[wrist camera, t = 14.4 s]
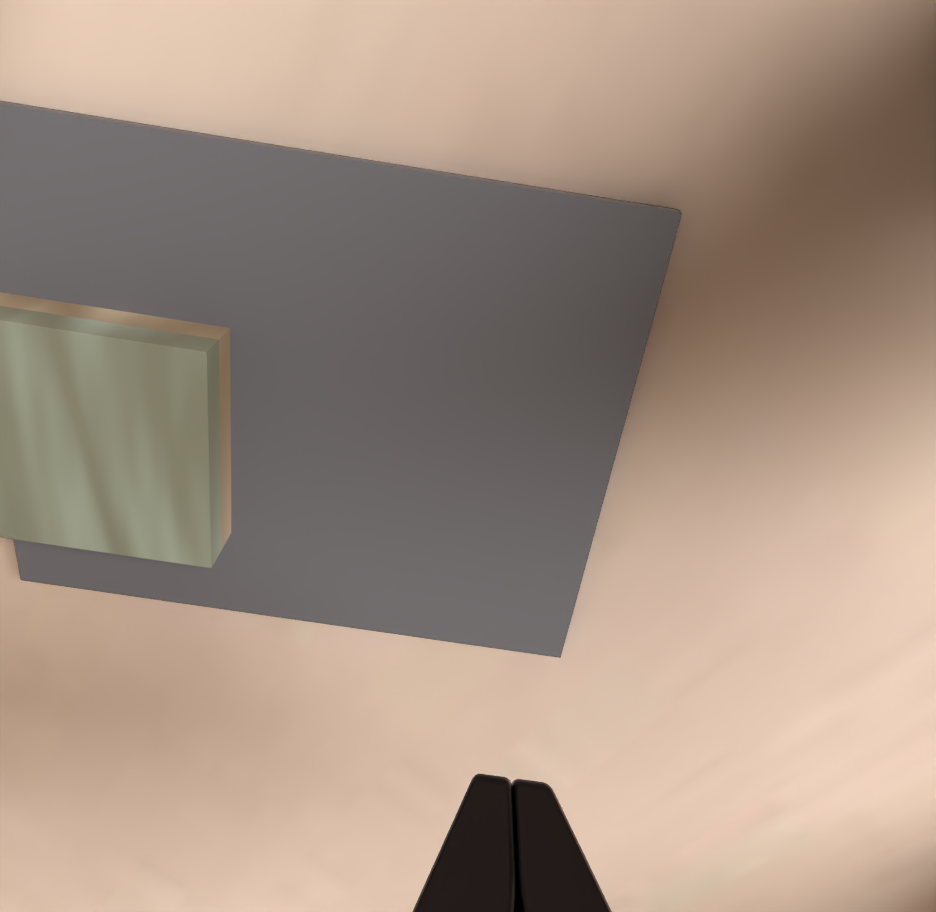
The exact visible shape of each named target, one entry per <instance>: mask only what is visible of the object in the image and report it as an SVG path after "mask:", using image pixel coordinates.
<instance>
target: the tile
mask: <svg viewBox="0 0 936 912" xmlns="http://www.w3.org/2000/svg"><path fill="white" fill-rule="evenodd" d="M230 534H231V401H230V328H227V327H221V326H214V325H208V324H202V323H195V322H189V321H182V320H176V319H169V318H163V317H157V316H150V315H144V314H137V313H131V312H124V311H118V310H112V309H105V308H99V307H92V306H86V305H79V304H73V303H66V302H60V301H54V300H47V299H41V298H34V297H28V296H21V295H15V294H9V293H2V292H0V537H3V538H9V539H16V540H23V541H30V542H37V543H43V544H50V545H57V546H64V547H71V548H78V549H84V550H91V551H98V552H105V553H112V554H118V555H125V556H132V557H139V558H146V559H152V560H159V561H166V562H173V563H180V564H187V565H193V566H200V567H207V568H212V566H213V564H214V563H215V561H216V559H217V557H218V556H219V554H220V552H221V550H222V549H223V547H224V545H225V543H226V541H227V540H228V538H229V536H230Z"/></svg>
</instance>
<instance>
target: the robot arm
mask: <svg viewBox="0 0 936 912" xmlns="http://www.w3.org/2000/svg"><path fill="white" fill-rule="evenodd" d="M413 912H612V911H611V909H610V907H609V905H608V903H607V901H606V899H605V897H604V895H603V893H602V891H601V888H600V886H599V884H598V882H597V880H596V878H595V876H594V874H593V872H592V870H591V868H590V866H589V864H588V862H587V859H586V857H585V855H584V853H583V851H582V849H581V847H580V845H579V843H578V841H577V839H576V837H575V835H574V833H573V830H572V828H571V826H570V824H569V822H568V820H567V818H566V816H565V814H564V812H563V810H562V808H561V806H560V803H559V801H558V799H557V797H556V795H555V793H554V791H553V790H552V788H551V787H550V786H549V785H548V784H546V783H543V782H536V781H529V780H522V779H516V780H514V781H513V782H512V784H511V782H510V780H509V779H508V778H506V777H500V776H493V775H486V774H477V775H475V776H474V777H473V779H472V781H471V783H470V785H469V787H468V789H467V792H466V794H465V796H464V798H463V801H462V803H461V805H460V807H459V809H458V812H457V814H456V816H455V818H454V821H453V823H452V825H451V827H450V829H449V832H448V834H447V836H446V838H445V841H444V843H443V845H442V847H441V850H440V852H439V854H438V856H437V858H436V861H435V863H434V865H433V867H432V870H431V872H430V874H429V876H428V878H427V881H426V883H425V885H424V887H423V890H422V892H421V894H420V896H419V898H418V901H417V903H416V905H415V907H414V910H413Z"/></svg>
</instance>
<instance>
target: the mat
mask: <svg viewBox="0 0 936 912" xmlns="http://www.w3.org/2000/svg"><path fill="white" fill-rule="evenodd" d="M681 215H682V213H681V212H680V211H679V210H678V209H672V208H666V207H660V206H653V205H647V204H641V203H635V202H628V201H622V200H616V199H610V198H603V197H597V196H591V195H585V194H578V193H572V192H566V191H560V190H553V189H547V188H541V187H535V186H528V185H522V184H516V183H510V182H504V181H497V180H491V179H485V178H479V177H472V176H466V175H460V174H454V173H447V172H441V171H435V170H429V169H422V168H416V167H410V166H404V165H397V164H391V163H385V162H379V161H373V160H366V159H360V158H354V157H348V156H341V155H335V154H329V153H323V152H316V151H310V150H304V149H298V148H291V147H285V146H279V145H273V144H266V143H260V142H254V141H248V140H241V139H235V138H229V137H223V136H217V135H210V134H204V133H198V132H192V131H185V130H179V129H173V128H167V127H160V126H154V125H148V124H142V123H135V122H129V121H123V120H117V119H110V118H104V117H98V116H92V115H86V114H79V113H73V112H67V111H61V110H54V109H48V108H42V107H36V106H29V105H23V104H17V103H11V102H4V101H0V292H2V293H9V294H15V295H21V296H28V297H34V298H41V299H47V300H54V301H60V302H66V303H73V304H79V305H86V306H92V307H99V308H105V309H112V310H118V311H124V312H131V313H137V314H144V315H150V316H157V317H163V318H169V319H176V320H182V321H189V322H195V323H202V324H208V325H214V326H221V327H227V328H230V401H231V534H230V536H229V538H228V540H227V541H226V543H225V545H224V547H223V549H222V550H221V552H220V554H219V556H218V557H217V559H216V561H215V563H214V564H213V566H212V568H207V567H200V566H193V565H187V564H180V563H173V562H166V561H159V560H152V559H146V558H139V557H132V556H125V555H118V554H112V553H105V552H98V551H91V550H84V549H78V548H71V547H64V546H57V545H50V544H43V543H37V542H30V541H23V540H16V539H14V545H15V550H16V556H17V561H18V567H19V573H20V578H21V580H24V581H31V582H38V583H45V584H52V585H59V586H66V587H73V588H80V589H87V590H94V591H101V592H107V593H114V594H121V595H128V596H135V597H142V598H149V599H156V600H163V601H170V602H177V603H184V604H191V605H198V606H205V607H212V608H219V609H226V610H233V611H239V612H246V613H253V614H260V615H267V616H274V617H281V618H288V619H295V620H302V621H309V622H316V623H323V624H330V625H337V626H344V627H351V628H358V629H365V630H372V631H378V632H385V633H392V634H399V635H406V636H413V637H420V638H427V639H434V640H441V641H448V642H455V643H462V644H469V645H476V646H483V647H490V648H497V649H504V650H511V651H517V652H524V653H531V654H538V655H545V656H552V657H559V658H560V657H561V654H562V650H563V646H564V643H565V639H566V635H567V632H568V628H569V624H570V621H571V617H572V613H573V610H574V606H575V602H576V599H577V595H578V592H579V588H580V584H581V581H582V577H583V573H584V570H585V566H586V562H587V559H588V555H589V551H590V548H591V544H592V540H593V537H594V533H595V529H596V526H597V522H598V518H599V515H600V511H601V507H602V504H603V500H604V496H605V493H606V489H607V485H608V482H609V478H610V474H611V471H612V467H613V463H614V460H615V456H616V453H617V449H618V445H619V442H620V438H621V434H622V431H623V427H624V423H625V420H626V416H627V412H628V409H629V405H630V401H631V398H632V394H633V390H634V387H635V383H636V379H637V376H638V372H639V368H640V365H641V361H642V357H643V354H644V350H645V346H646V343H647V339H648V335H649V332H650V328H651V324H652V321H653V317H654V314H655V310H656V306H657V303H658V299H659V295H660V292H661V288H662V284H663V281H664V277H665V273H666V270H667V266H668V262H669V259H670V255H671V251H672V248H673V244H674V240H675V237H676V233H677V229H678V226H679V222H680V218H681Z"/></svg>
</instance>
